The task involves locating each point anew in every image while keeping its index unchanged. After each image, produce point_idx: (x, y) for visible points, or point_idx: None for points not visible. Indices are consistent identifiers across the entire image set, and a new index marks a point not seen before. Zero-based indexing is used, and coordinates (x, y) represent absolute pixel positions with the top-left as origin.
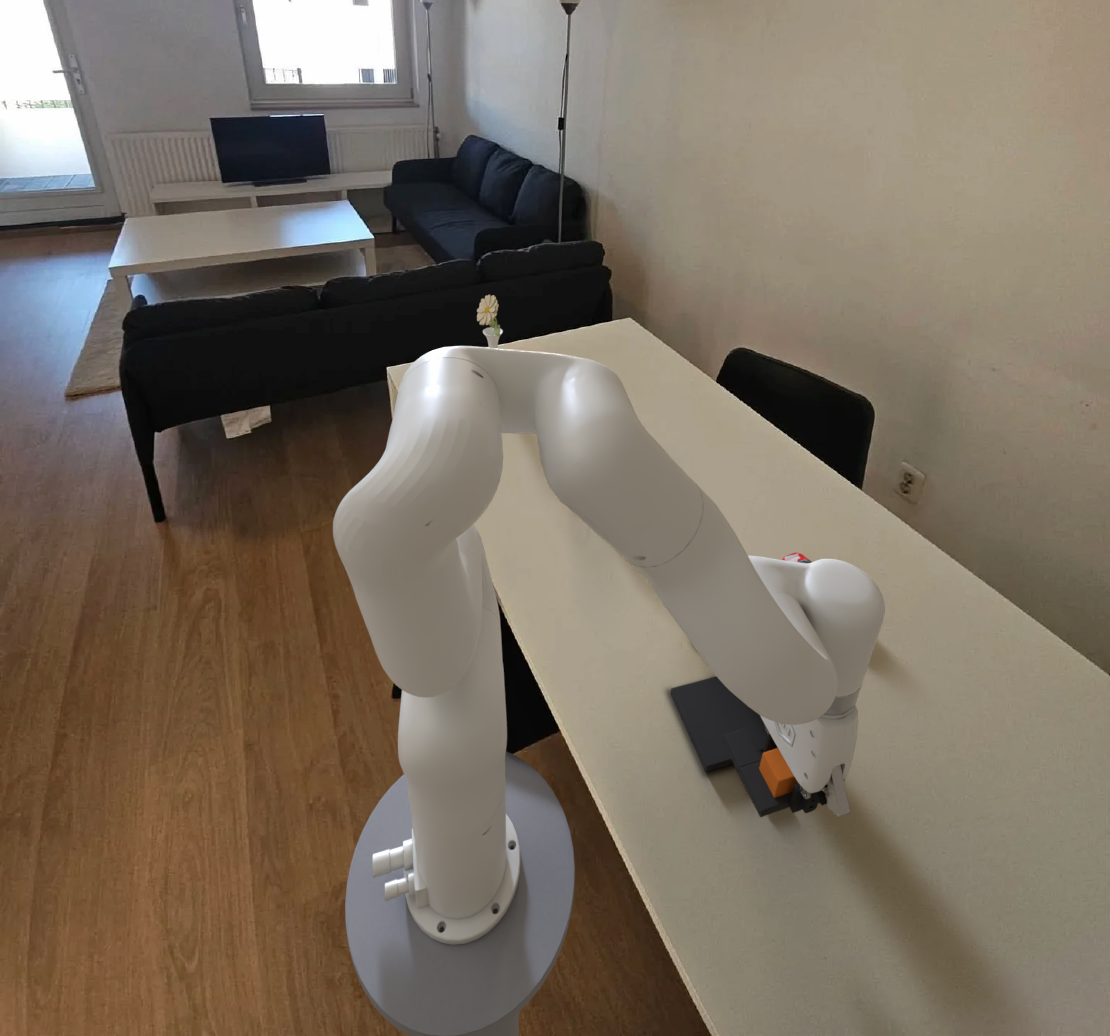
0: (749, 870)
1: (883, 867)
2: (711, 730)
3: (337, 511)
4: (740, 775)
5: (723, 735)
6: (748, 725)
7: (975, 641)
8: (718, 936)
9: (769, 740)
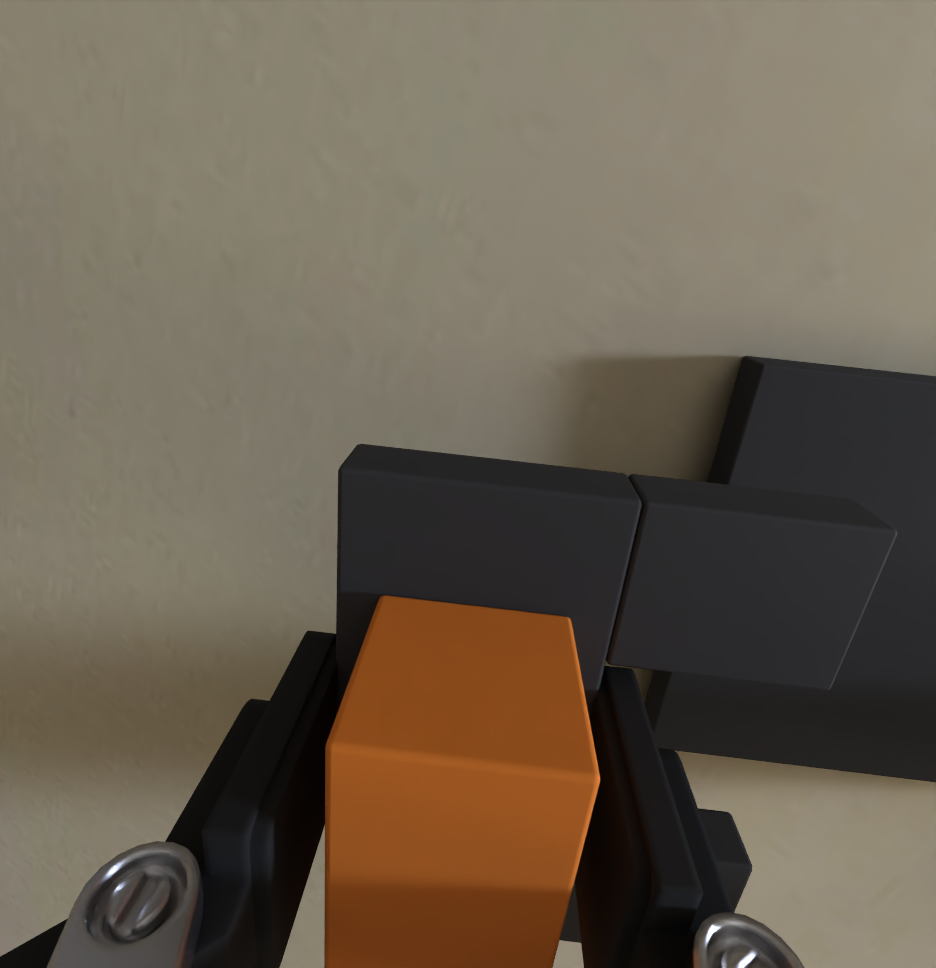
0: (354, 314)
1: None
2: (877, 488)
3: None
4: (607, 477)
5: None
6: None
7: None
8: (183, 9)
9: (657, 885)
